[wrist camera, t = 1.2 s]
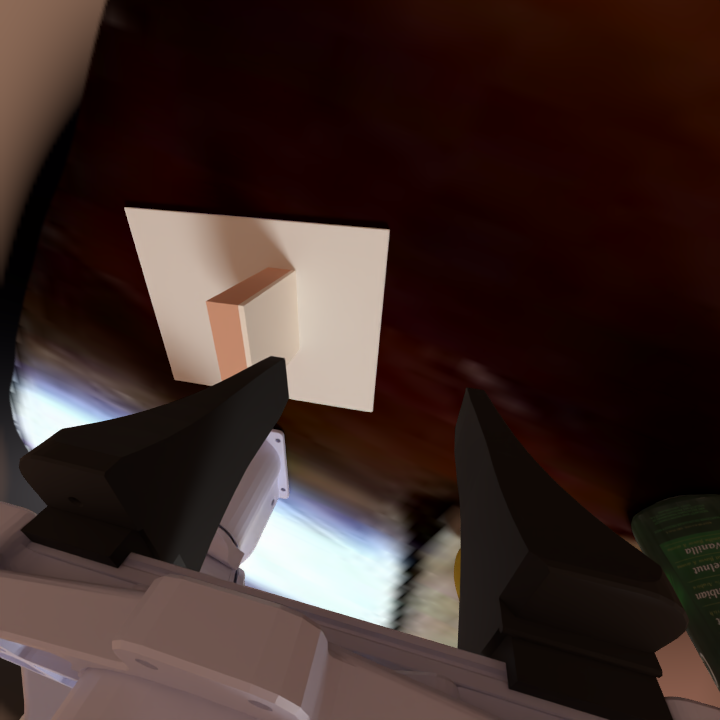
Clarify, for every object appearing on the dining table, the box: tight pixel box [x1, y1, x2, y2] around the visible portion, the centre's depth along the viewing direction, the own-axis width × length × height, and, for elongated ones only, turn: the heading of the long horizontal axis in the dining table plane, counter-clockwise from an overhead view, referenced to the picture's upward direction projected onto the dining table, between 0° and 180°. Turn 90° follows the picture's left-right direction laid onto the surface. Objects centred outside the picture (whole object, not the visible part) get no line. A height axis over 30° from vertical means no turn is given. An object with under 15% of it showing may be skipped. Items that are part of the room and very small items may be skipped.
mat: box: [124, 207, 390, 412], centre depth 24 cm, size 14×18×1 cm
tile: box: [206, 267, 300, 381], centre depth 20 cm, size 6×2×7 cm, turn 177°
